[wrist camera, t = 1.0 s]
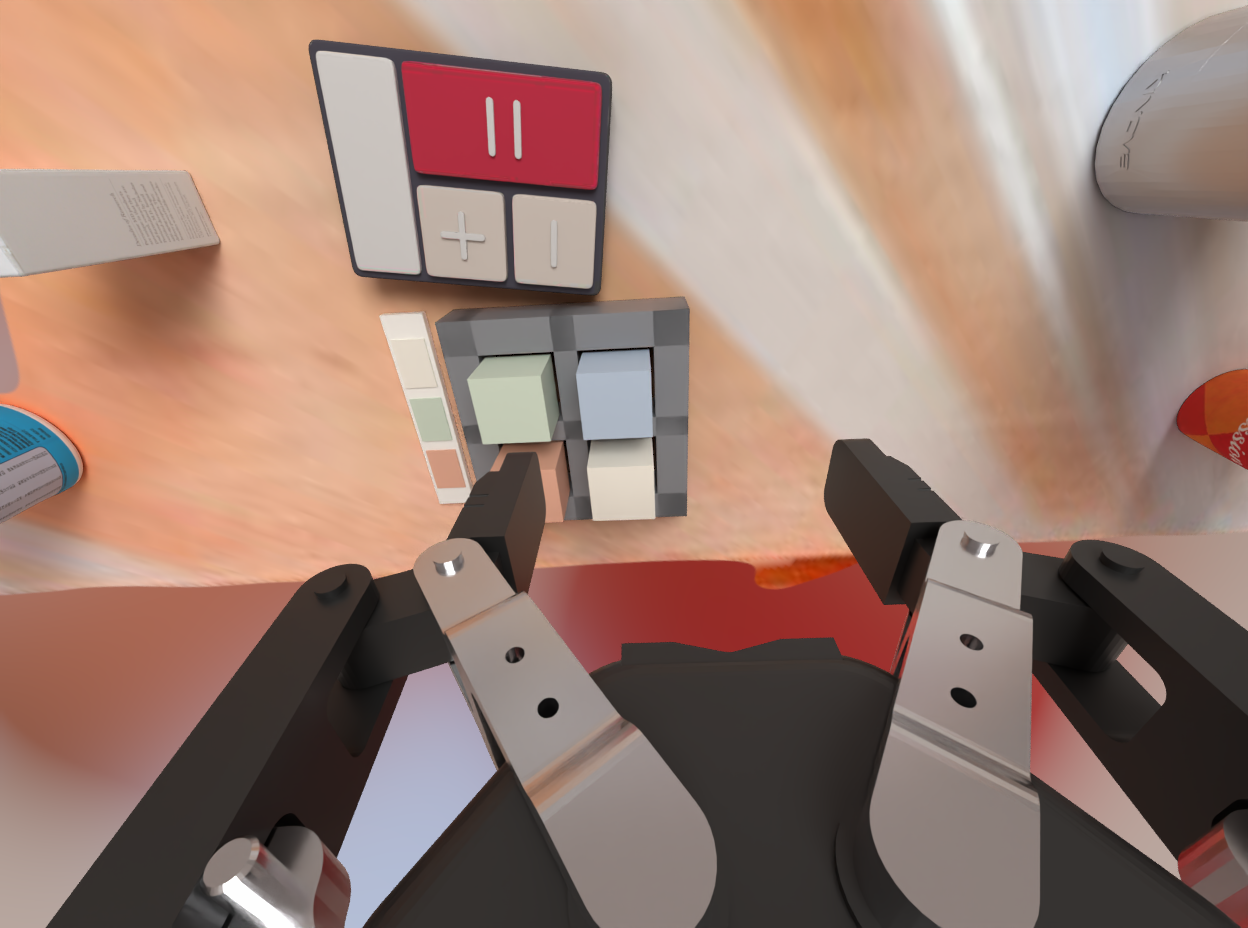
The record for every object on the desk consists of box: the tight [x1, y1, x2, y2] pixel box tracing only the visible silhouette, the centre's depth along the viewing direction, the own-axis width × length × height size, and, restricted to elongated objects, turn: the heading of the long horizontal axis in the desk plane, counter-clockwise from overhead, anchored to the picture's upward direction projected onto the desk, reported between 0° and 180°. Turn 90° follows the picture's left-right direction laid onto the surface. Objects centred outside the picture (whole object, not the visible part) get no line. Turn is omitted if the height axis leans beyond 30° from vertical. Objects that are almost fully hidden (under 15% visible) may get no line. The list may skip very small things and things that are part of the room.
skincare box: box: [0, 169, 220, 278], centre depth 25 cm, size 6×4×12 cm
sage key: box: [467, 354, 559, 444], centre depth 31 cm, size 4×4×4 cm
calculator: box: [309, 40, 612, 295], centre depth 27 cm, size 11×4×15 cm
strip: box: [379, 311, 473, 504], centre depth 37 cm, size 3×16×1 cm, turn 3°
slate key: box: [576, 349, 653, 440], centre depth 30 cm, size 4×4×4 cm
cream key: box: [587, 437, 655, 521], centre depth 34 cm, size 4×4×4 cm
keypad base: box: [435, 297, 690, 520], centre depth 35 cm, size 16×16×4 cm
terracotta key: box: [490, 441, 570, 523], centre depth 34 cm, size 4×4×4 cm
